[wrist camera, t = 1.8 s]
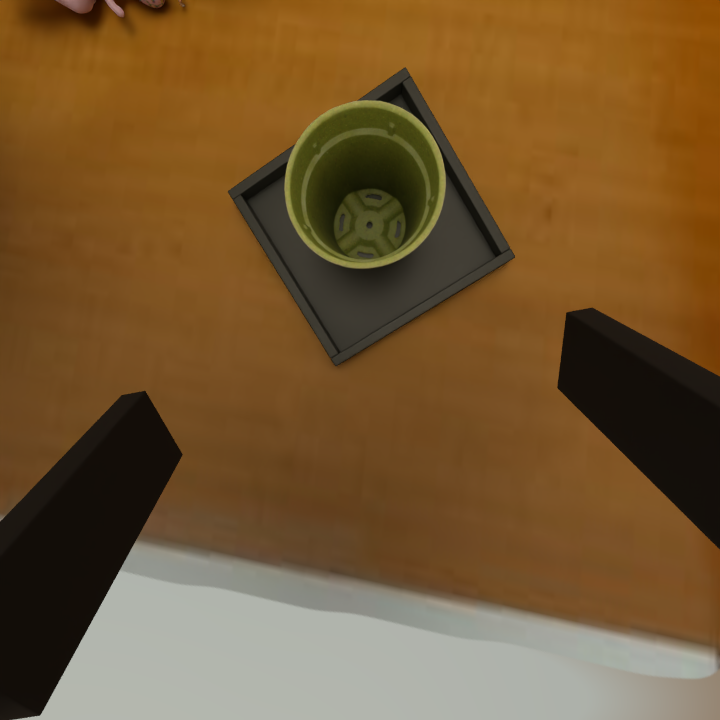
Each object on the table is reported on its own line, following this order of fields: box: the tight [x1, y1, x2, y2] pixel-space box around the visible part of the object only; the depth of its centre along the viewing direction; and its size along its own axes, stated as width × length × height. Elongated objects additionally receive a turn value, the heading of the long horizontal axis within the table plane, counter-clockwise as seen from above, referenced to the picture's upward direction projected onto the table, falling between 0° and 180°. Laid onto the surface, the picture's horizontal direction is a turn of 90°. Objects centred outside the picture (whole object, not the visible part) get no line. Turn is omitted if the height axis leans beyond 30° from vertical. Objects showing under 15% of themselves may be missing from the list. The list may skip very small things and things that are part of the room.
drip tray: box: [228, 68, 515, 366], centre depth 28 cm, size 17×17×2 cm
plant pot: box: [284, 100, 446, 269], centre depth 24 cm, size 9×9×9 cm
